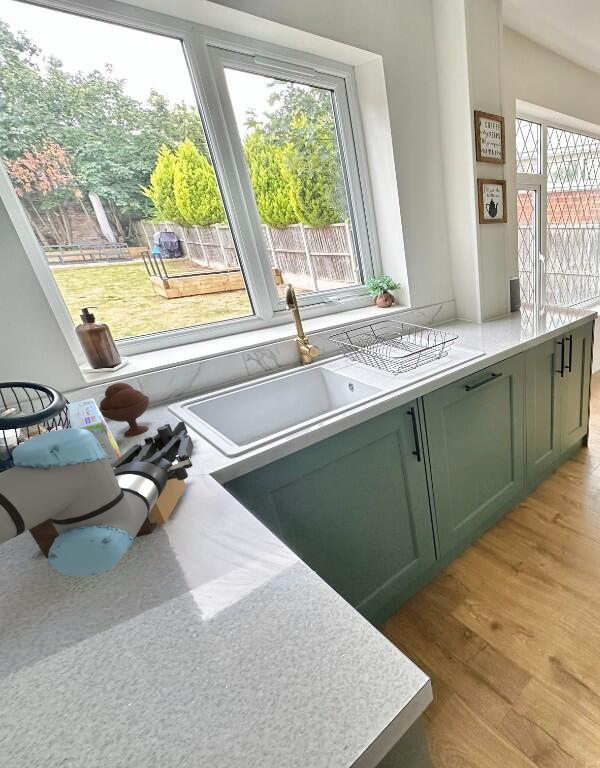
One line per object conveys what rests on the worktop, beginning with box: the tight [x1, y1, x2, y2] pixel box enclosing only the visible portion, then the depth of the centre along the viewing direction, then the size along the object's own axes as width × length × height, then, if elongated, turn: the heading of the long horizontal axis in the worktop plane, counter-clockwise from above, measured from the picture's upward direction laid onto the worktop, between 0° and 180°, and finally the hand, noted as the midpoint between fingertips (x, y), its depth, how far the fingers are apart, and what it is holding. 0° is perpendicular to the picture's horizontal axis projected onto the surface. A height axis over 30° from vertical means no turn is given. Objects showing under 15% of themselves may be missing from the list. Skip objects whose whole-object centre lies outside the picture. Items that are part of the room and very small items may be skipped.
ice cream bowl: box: [98, 382, 150, 438], centre depth 118 cm, size 11×11×15 cm
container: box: [147, 425, 189, 526], centre depth 82 cm, size 20×14×18 cm
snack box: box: [67, 397, 122, 464], centre depth 102 cm, size 21×6×15 cm, turn 47°
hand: (176, 428), depth 88 cm, fingers closed on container, 2 cm apart
